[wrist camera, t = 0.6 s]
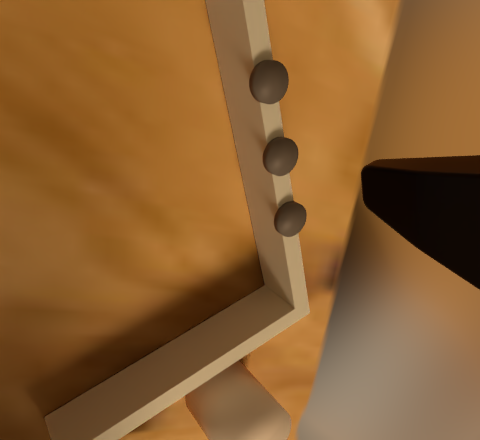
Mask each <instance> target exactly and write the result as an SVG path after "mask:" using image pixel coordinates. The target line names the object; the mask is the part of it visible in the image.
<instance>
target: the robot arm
mask: <svg viewBox="0 0 480 440" xmlns="http://www.w3.org/2000/svg"><path fill="white" fill-rule="evenodd" d="M361 182H362V194H363V201H364V204H365V205H366V207H367V208H368V209H369V210H370V211H372V212H373V213H374V214H375V215H376V216H378V217H379V218H380V219H381V220H383V221H384V222H385V223H386V224H388V225H389V226H390V227H391V228H393V229H394V230H395V231H396V232H397V233H399V234H400V235H401V236H403V237H404V238H405V239H406V240H407V241H409V242H410V243H411V244H413V245H414V246H415V247H416V248H418V249H419V250H421V251H422V252H424V253H425V254H427V255H428V256H430V257H431V258H433V259H434V260H436V261H437V262H439V263H440V264H442V265H444V266H445V267H446V268H448V269H449V270H451V271H452V272H454V273H455V274H457V275H458V276H460V277H462V278H463V279H464V280H466V281H468V282H469V283H470V284H472V285H474V286H475V287H476V288H478V289H480V155H477V156H452V157H427V158H402V159H379V160H375V161H373V162H371V163H370V164H368V165H366V166H364V167H363V169H362V171H361Z"/></svg>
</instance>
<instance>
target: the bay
mask: <svg viewBox="0 0 480 440" xmlns="http://www.w3.org/2000/svg"><path fill="white" fill-rule="evenodd" d="M205 2H206V7H207V11H208V16H209V21H210V26H211V31H212V35H213V40H214V45H215V50H216V55H217V59H218V64H219V69H220V74H221V79H222V83H223V88H224V93H225V98H226V102H227V107H228V112H229V117H230V122H231V126H232V131H233V136H234V141H235V146H236V150H237V155H238V160H239V165H240V170H241V174H242V179H243V184H244V189H245V193H246V198H247V203H248V208H249V213H250V217H251V222H252V227H253V232H254V237H255V241H256V246H257V251H258V256H259V261H260V265H261V270H262V275H263V280H264V284H265V285H264V286H262V287H261V288H259V289H257V290H256V291H254V292H252V293H251V294H249V295H247V296H246V297H244V298H242V299H241V300H239V301H237V302H236V303H234V304H232V305H231V306H229V307H227V308H226V309H224V310H222V311H221V312H219V313H217V314H216V315H214V316H212V317H211V318H209V319H207V320H206V321H204V322H202V323H201V324H199V325H197V326H196V327H194V328H192V329H191V330H189V331H187V332H186V333H184V334H182V335H180V336H179V337H177V338H175V339H174V340H172V341H170V342H169V343H167V344H165V345H164V346H162V347H160V348H159V349H157V350H155V351H154V352H152V353H150V354H149V355H147V356H145V357H144V358H142V359H140V360H139V361H137V362H135V363H134V364H132V365H130V366H129V367H127V368H125V369H124V370H122V371H120V372H119V373H117V374H115V375H114V376H112V377H110V378H109V379H107V380H105V381H104V382H102V383H100V384H98V385H97V386H95V387H93V388H92V389H90V390H88V391H87V392H85V393H83V394H82V395H80V396H78V397H77V398H75V399H73V400H72V401H70V402H68V403H67V404H65V405H63V406H62V407H60V408H58V409H57V410H55V411H53V412H52V413H50V414H48V415H47V416H45V417H44V418H45V422H46V425H47V428H48V432H49V435H50V438H51V440H118V439H120V438H121V437H123V436H125V435H126V434H128V433H129V432H131V431H132V430H134V429H135V428H137V427H138V426H140V425H141V424H143V423H144V422H146V421H147V420H149V419H150V418H152V417H153V416H155V415H156V414H158V413H159V412H161V411H162V410H164V409H165V408H167V407H168V406H170V405H171V404H173V403H174V402H176V401H177V400H179V399H181V398H182V397H184V396H185V395H187V394H188V393H190V392H191V391H193V390H194V389H196V388H197V387H199V386H200V385H202V384H203V383H205V382H206V381H208V380H209V379H211V378H212V377H214V376H215V375H217V374H218V373H220V372H221V371H223V370H224V369H226V368H227V367H229V366H230V365H232V364H234V363H235V362H237V361H238V360H240V359H241V358H243V357H244V356H246V355H247V354H249V353H250V352H252V351H253V350H255V349H256V348H258V347H259V346H261V345H262V344H264V343H265V342H267V341H268V340H270V339H271V338H273V337H274V336H276V335H277V334H279V333H280V332H282V331H283V330H285V329H286V328H288V327H290V326H291V325H293V324H294V323H296V322H297V321H299V320H300V319H302V318H303V317H305V316H306V315H308V314H309V313H310V310H309V303H308V296H307V289H306V282H305V276H304V269H303V262H302V255H301V248H300V242H299V235H298V233H299V232H300V231H301V229H302V228H303V226H304V224H305V222H306V210H305V208H304V207H303V206H302V205H301V204H299V203H297V202H294V201H293V194H292V187H291V181H290V174H289V172H290V171H291V170H292V169H293V168H294V166H295V165H296V162H297V159H298V148H297V145H296V144H295V142H294V141H293V140H291V139H288V138H285V137H284V133H283V126H282V119H281V113H280V106H279V101H280V100H281V99H282V98H283V96H284V95H285V93H286V91H287V88H288V73H287V70H286V68H285V67H284V65H283V64H282V63H280V62H278V61H275V60H273V58H272V51H271V45H270V38H269V31H268V24H267V17H266V11H265V4H264V0H205Z"/></svg>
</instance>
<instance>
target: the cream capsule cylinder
mask: <svg viewBox="0 0 480 440" xmlns="http://www.w3.org/2000/svg"><path fill="white" fill-rule="evenodd" d="M186 405H187V407H188V409H189V411H190V412H191V414H192V415H193V417H194V418H195V420H196V421H197V423H198V424H199V426H200V427H201V428H202V430H203V431H204V433H205V434H206V436H207V437H208V439H209V440H287V438H288V436H289V433H290V430H291V418H290V415H289V414H288V413H287V412H286V411H285V409H284V408H283V407H282V406H281V405H280V404H279V403H278V402H277V401H276V400H275V399H274V398H273V396H272V395H271V394H270V393H269V392H268V391H267V390H266V389H265V388H264V387H263V386H262V384H261V383H260V382H259V381H258V380H257V379H256V378H255V377H254V376H253V375H252V374H251V373H250V371H249V370H248V369H247V368H246V367H245V366H244V365H243V364H242V363H241V362H240V361H239V360H238V361H237V362H235V363H234V364H232V365H230V366H229V367H227V368H226V369H224V370H223V371H221V372H220V373H218V374H217V375H215V376H214V377H212V378H211V379H209V380H208V381H206V382H205V383H203V384H202V385H200V386H199V387H197V388H196V389H194V390H193V391H191V392H190V393H188V394H187V395H186Z"/></svg>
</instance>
